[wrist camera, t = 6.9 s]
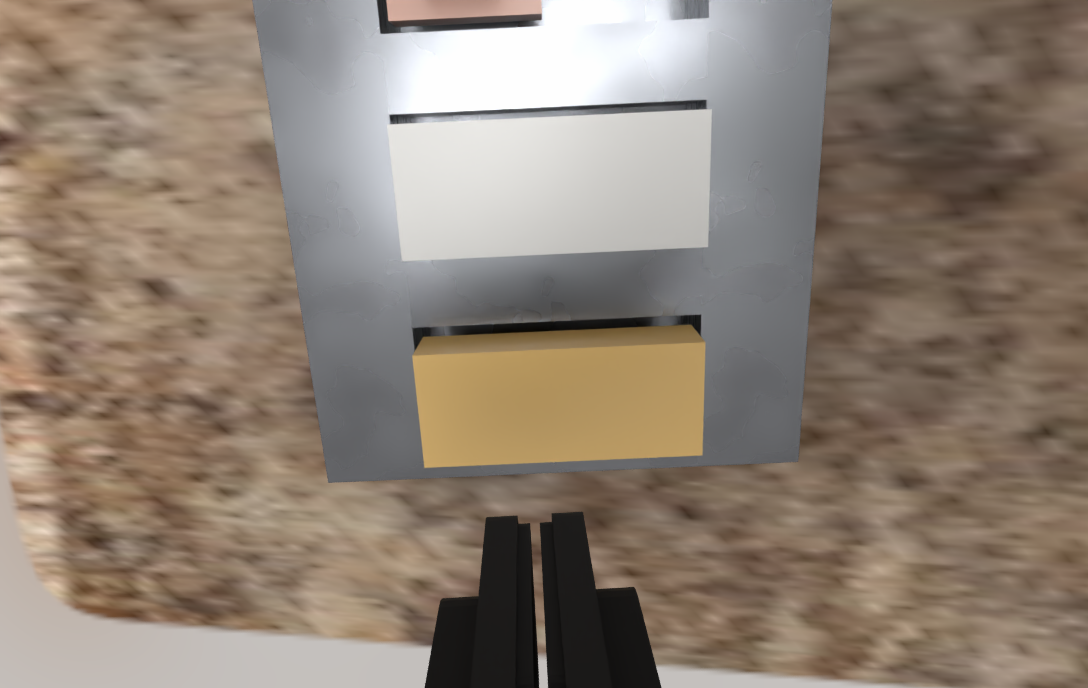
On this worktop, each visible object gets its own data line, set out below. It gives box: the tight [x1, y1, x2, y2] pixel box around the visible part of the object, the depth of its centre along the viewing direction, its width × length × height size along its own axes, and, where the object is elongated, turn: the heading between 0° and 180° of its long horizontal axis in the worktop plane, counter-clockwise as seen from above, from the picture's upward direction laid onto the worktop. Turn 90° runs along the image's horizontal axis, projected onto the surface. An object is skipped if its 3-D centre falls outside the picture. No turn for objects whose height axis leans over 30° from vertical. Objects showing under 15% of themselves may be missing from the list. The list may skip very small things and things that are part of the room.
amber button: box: [412, 325, 706, 468], centre depth 20 cm, size 8×3×2 cm, turn 93°
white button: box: [387, 109, 712, 261], centre depth 18 cm, size 8×3×2 cm, turn 93°
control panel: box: [252, 0, 832, 483], centre depth 21 cm, size 15×18×4 cm
